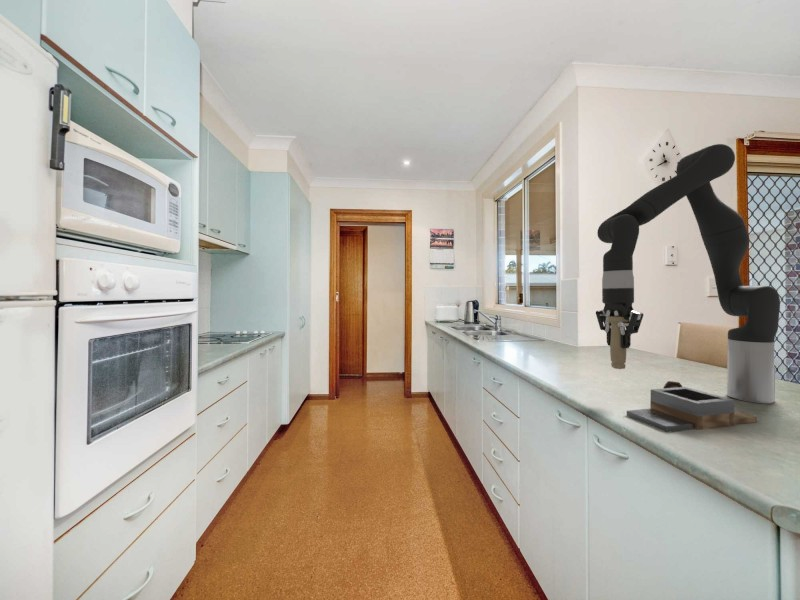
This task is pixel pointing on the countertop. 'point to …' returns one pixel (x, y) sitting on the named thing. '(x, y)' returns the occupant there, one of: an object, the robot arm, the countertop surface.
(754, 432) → the countertop surface
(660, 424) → the grey storage bin
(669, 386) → the dark brown oblong lump
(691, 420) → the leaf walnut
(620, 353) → the handle
